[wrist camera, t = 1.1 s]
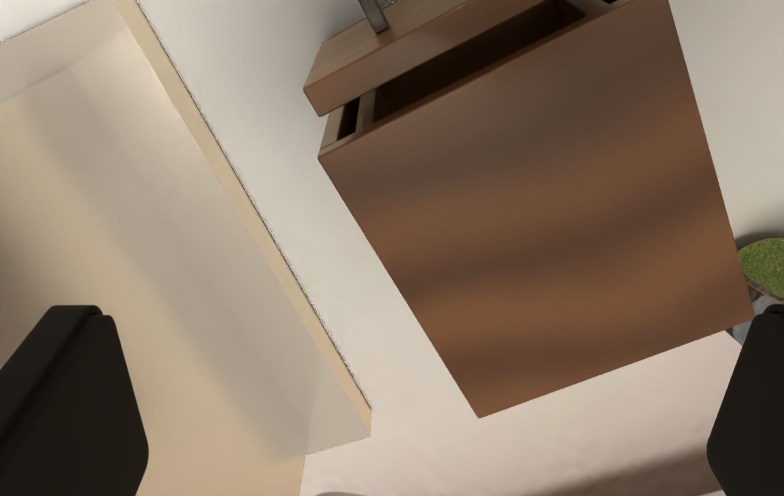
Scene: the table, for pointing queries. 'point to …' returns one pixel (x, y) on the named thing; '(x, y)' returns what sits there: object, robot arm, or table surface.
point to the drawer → (426, 49)
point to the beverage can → (761, 278)
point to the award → (160, 259)
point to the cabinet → (550, 208)
